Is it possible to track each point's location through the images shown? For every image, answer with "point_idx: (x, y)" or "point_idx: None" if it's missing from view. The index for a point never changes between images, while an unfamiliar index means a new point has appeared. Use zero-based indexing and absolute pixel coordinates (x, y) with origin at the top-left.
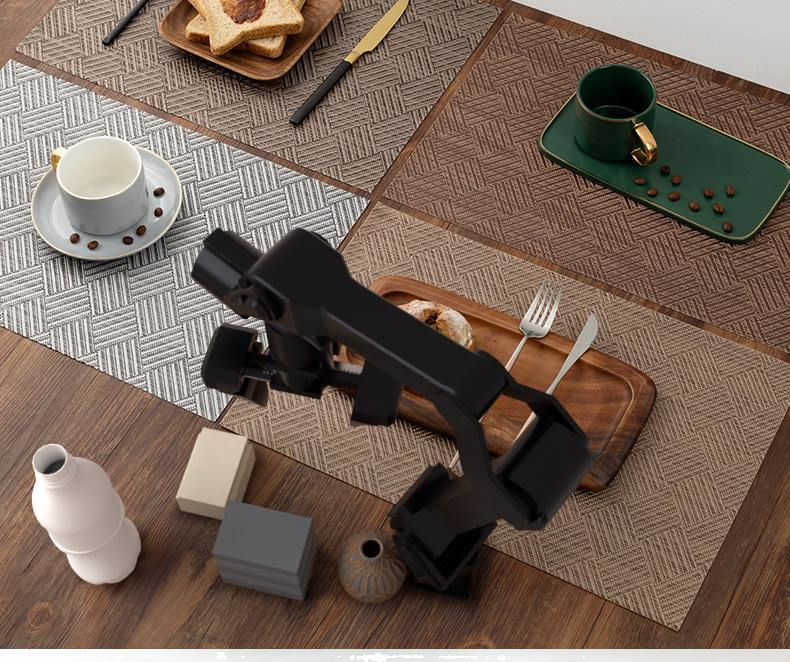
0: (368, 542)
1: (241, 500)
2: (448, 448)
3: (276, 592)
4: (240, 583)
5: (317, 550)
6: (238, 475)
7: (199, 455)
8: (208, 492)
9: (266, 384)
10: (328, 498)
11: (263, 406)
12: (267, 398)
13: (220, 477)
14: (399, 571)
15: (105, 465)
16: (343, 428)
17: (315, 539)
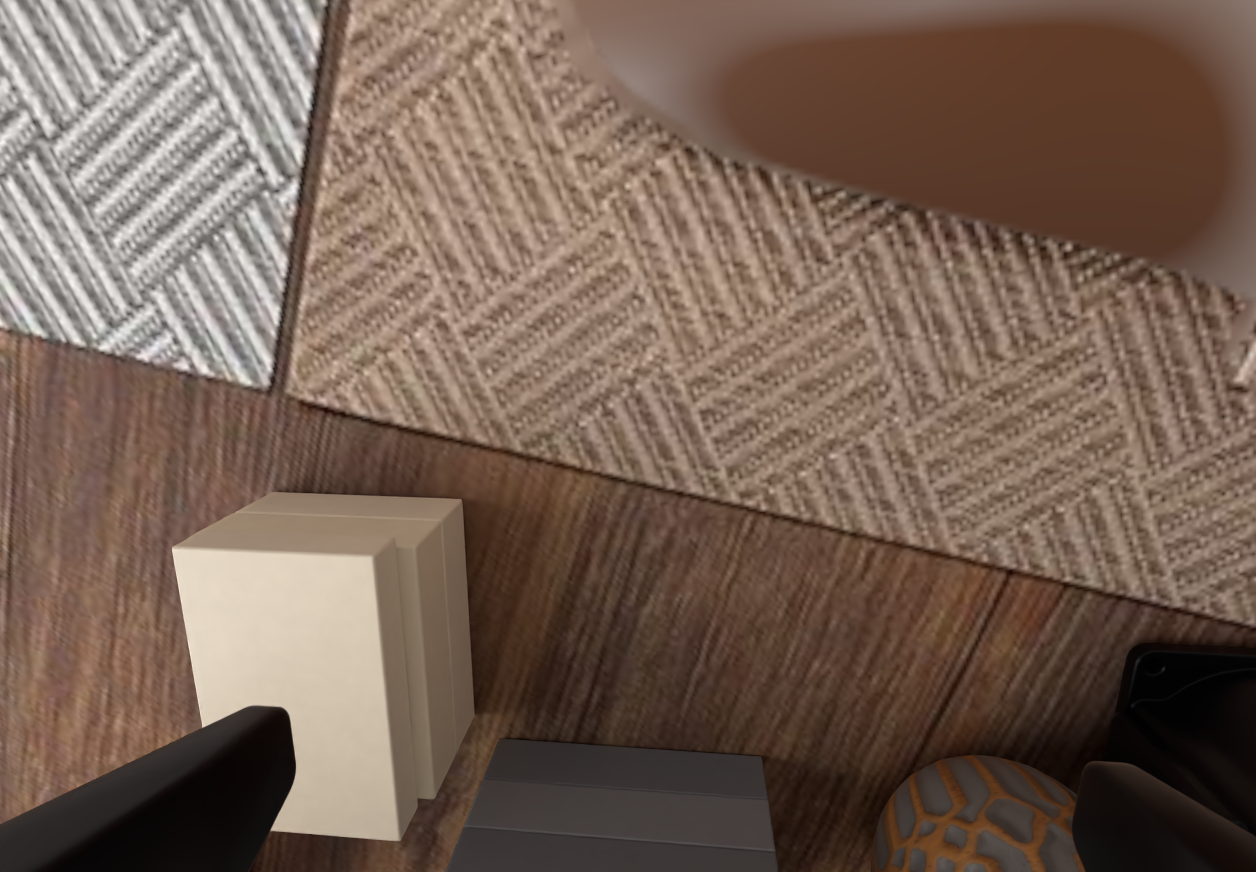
0: (956, 770)
1: (467, 658)
2: (1233, 300)
3: None
4: None
5: (762, 761)
6: (409, 677)
7: (217, 667)
8: (318, 799)
9: (96, 853)
10: (759, 590)
11: (249, 865)
12: (258, 765)
13: (336, 740)
14: None
15: (16, 608)
16: (756, 308)
17: (774, 851)
